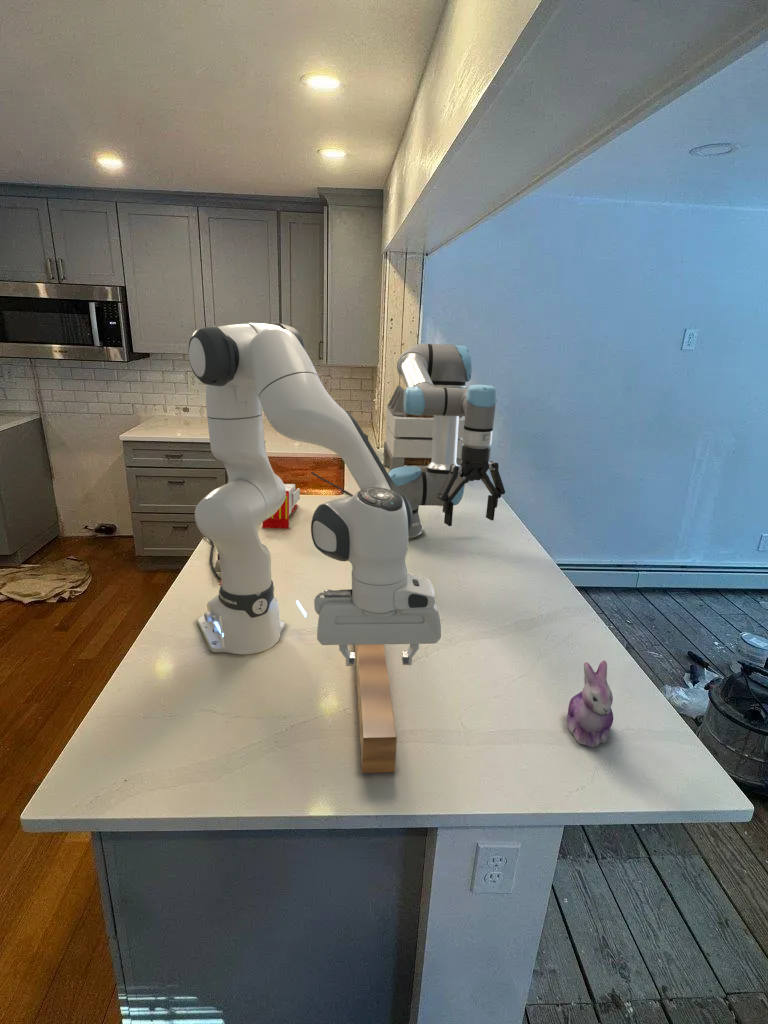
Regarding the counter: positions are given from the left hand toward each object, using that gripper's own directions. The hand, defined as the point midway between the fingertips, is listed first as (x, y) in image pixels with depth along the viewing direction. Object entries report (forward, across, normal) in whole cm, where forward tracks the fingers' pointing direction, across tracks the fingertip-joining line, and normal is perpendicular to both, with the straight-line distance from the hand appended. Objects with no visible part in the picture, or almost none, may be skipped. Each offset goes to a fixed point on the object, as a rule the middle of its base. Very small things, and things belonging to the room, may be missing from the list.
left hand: (378, 663), depth 95 cm
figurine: (+20, +41, +6) cm, 46 cm away
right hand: (-2, +27, +64) cm, 69 cm away
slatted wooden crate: (+17, +26, +184) cm, 186 cm away
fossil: (+16, -5, +220) cm, 221 cm away
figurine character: (+17, -41, +73) cm, 85 cm away
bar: (+18, -1, +26) cm, 32 cm away
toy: (+16, -32, +120) cm, 125 cm away
